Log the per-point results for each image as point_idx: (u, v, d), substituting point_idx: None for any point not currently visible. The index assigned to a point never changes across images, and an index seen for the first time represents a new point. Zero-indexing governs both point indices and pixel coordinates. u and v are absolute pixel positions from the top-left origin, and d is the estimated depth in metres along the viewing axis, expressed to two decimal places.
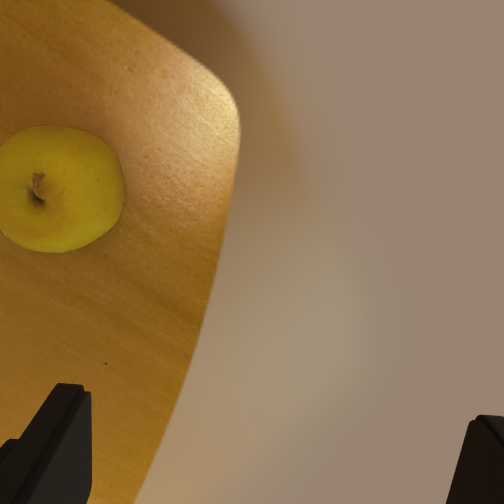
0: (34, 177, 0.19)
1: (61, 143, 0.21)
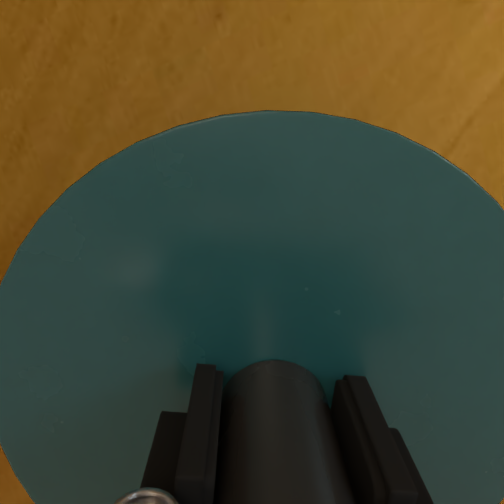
0: None
1: None
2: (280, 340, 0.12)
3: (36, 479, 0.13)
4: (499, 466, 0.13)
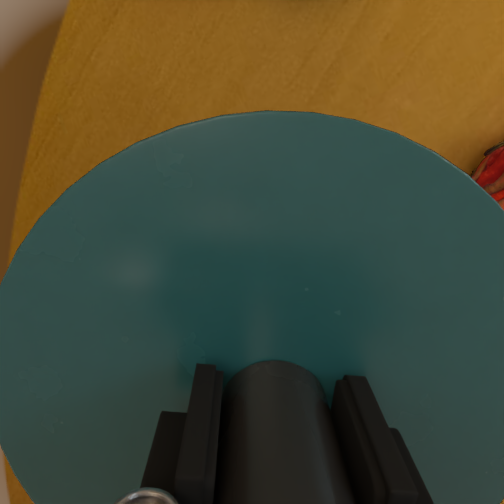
0: None
1: None
2: (279, 341, 0.12)
3: (36, 479, 0.13)
4: (499, 466, 0.13)
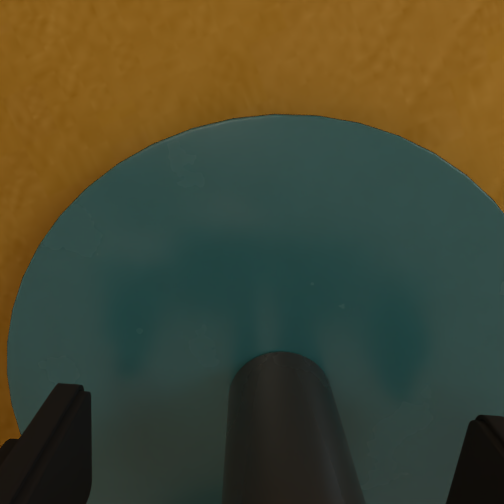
0: None
1: None
2: (286, 333, 0.13)
3: None
4: None
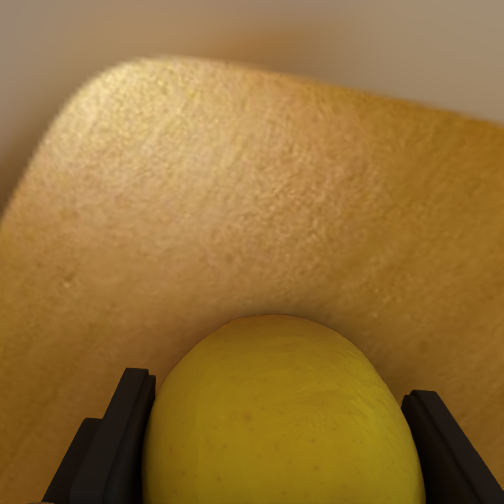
0: None
1: (155, 491, 0.08)
2: None
3: None
4: None
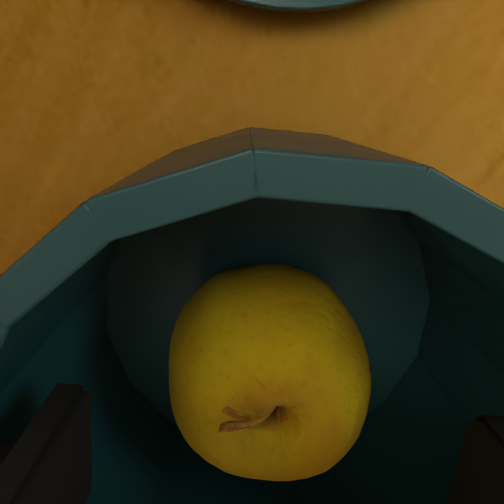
0: (226, 429, 0.11)
1: (181, 367, 0.12)
2: None
3: None
4: None
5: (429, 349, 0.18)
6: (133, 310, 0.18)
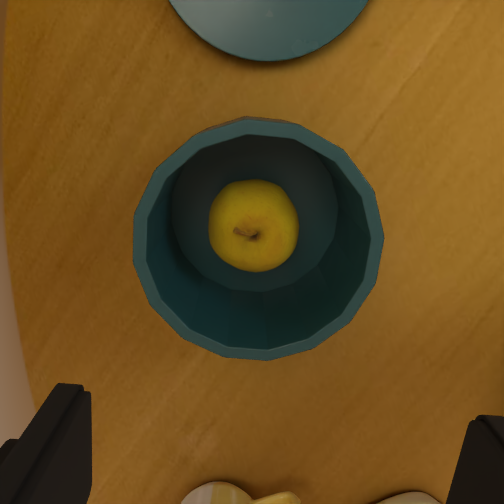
0: (236, 231, 0.28)
1: (216, 215, 0.29)
2: None
3: None
4: None
5: (337, 230, 0.35)
6: (185, 211, 0.36)
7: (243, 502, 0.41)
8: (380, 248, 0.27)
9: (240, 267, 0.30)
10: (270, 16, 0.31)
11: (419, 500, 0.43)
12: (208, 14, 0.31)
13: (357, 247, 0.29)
